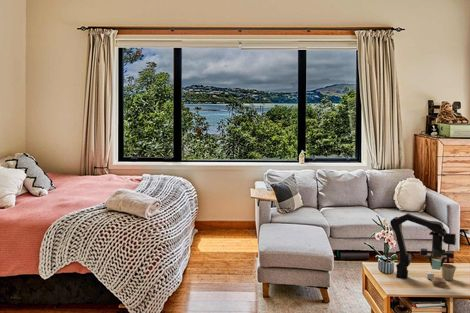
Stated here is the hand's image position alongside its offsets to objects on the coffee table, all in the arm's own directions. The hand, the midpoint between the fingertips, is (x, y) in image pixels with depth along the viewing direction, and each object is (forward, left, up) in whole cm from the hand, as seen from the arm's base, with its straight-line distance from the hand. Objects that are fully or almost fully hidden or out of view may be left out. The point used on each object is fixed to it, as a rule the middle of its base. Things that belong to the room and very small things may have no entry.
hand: (436, 266), depth 272 cm
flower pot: (+8, +13, -12) cm, 19 cm away
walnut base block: (+2, 0, -12) cm, 12 cm away
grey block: (-3, +9, -12) cm, 15 cm away
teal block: (0, 0, -1) cm, 1 cm away
